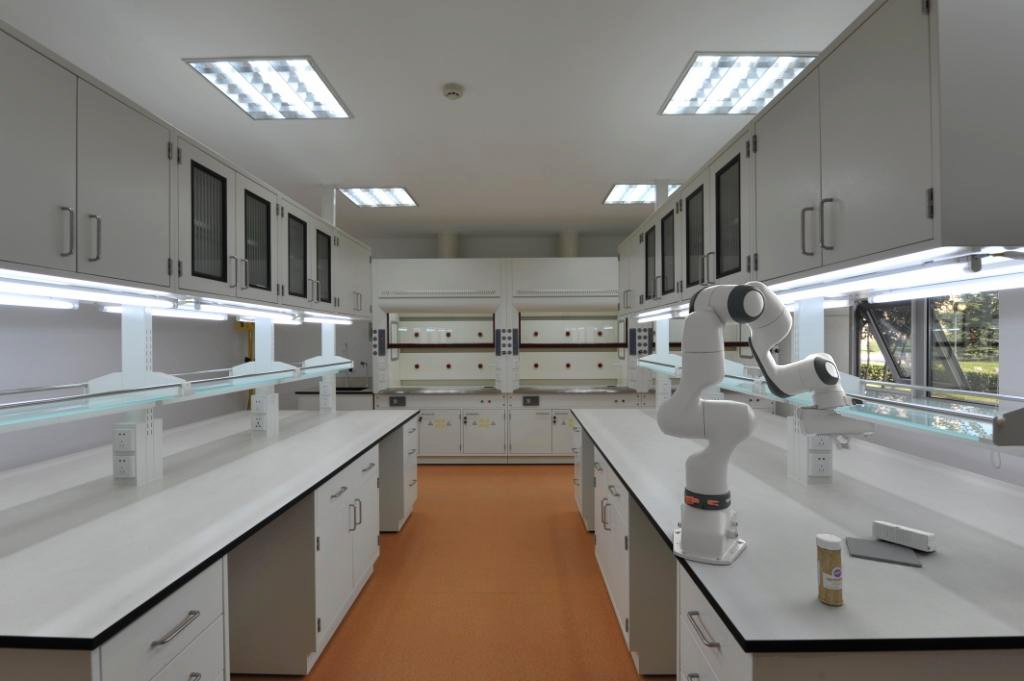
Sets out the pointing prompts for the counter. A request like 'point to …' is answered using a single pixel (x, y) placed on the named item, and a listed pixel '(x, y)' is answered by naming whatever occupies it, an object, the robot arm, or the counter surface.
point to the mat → (882, 551)
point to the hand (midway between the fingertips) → (843, 449)
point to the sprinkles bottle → (829, 569)
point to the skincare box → (904, 536)
